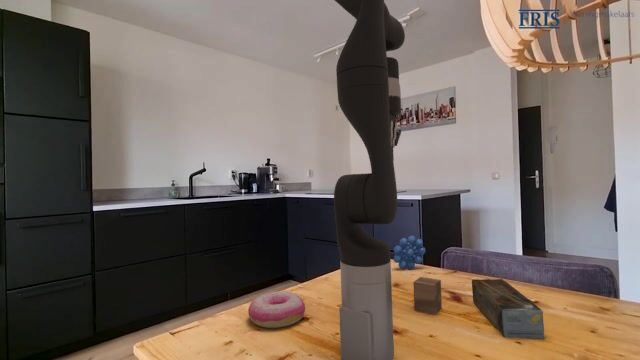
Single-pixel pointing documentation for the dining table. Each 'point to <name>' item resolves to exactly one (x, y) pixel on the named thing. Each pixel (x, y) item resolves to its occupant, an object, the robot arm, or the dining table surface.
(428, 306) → the walnut block
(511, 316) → the beverage carton
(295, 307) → the donut
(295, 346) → the dining table surface
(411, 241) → the grapes
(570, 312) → the dining table surface
